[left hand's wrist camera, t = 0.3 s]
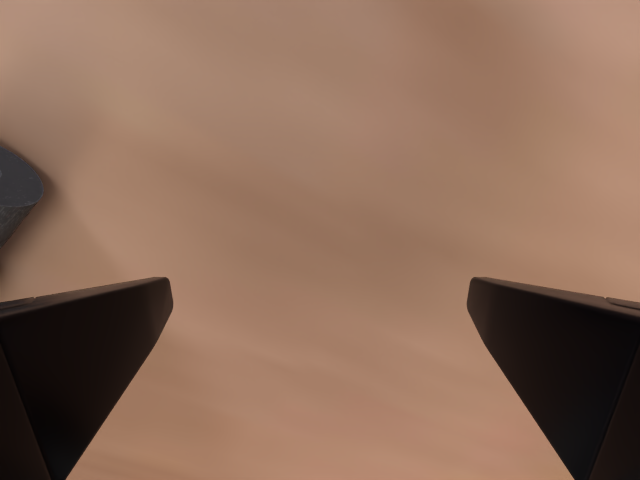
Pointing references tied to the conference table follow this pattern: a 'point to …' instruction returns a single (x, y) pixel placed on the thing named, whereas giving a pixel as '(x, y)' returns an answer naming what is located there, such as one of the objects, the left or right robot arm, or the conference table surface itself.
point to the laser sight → (16, 192)
